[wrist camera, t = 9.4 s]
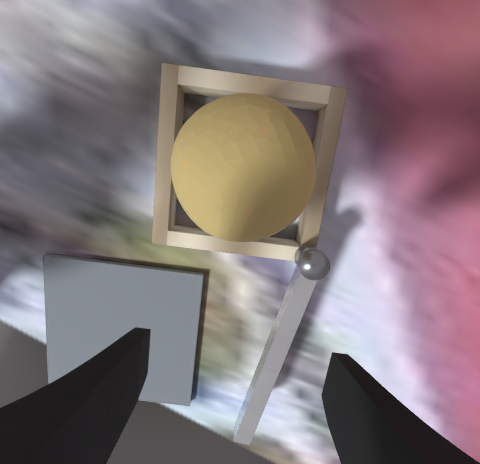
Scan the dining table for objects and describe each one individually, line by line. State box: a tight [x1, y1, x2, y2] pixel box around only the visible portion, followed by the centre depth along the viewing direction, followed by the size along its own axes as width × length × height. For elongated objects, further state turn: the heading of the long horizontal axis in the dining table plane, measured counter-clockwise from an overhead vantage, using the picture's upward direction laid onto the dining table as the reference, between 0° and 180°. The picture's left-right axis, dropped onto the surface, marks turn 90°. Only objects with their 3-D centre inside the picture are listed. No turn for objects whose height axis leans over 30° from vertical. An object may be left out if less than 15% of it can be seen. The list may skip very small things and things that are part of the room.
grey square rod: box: [234, 244, 330, 445], centre depth 19 cm, size 15×2×2 cm, turn 162°
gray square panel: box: [43, 254, 204, 406], centre depth 22 cm, size 12×12×1 cm
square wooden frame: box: [152, 63, 348, 261], centre depth 18 cm, size 11×11×2 cm
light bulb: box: [171, 93, 316, 242], centre depth 14 cm, size 6×6×10 cm
